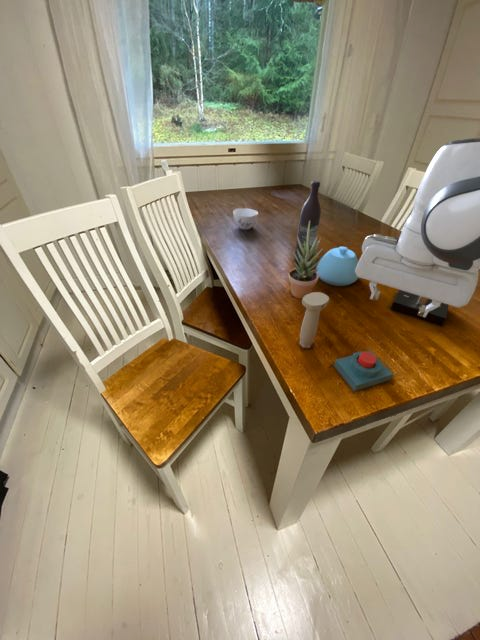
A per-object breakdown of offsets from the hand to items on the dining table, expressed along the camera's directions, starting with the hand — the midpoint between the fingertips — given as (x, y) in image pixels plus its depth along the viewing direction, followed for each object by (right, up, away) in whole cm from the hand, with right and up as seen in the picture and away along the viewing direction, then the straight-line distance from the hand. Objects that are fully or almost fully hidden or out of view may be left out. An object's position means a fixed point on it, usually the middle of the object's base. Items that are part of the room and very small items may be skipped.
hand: (396, 306), depth 58 cm
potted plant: (-13, +6, +35) cm, 37 cm away
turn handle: (+23, +3, +26) cm, 35 cm away
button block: (-4, -15, +8) cm, 18 cm away
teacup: (-30, +45, +83) cm, 99 cm away
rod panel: (+23, +1, +28) cm, 36 cm away
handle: (-16, -10, +15) cm, 24 cm away
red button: (-4, -13, +6) cm, 14 cm away
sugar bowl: (+2, +13, +43) cm, 45 cm away
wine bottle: (-8, +20, +52) cm, 56 cm away
